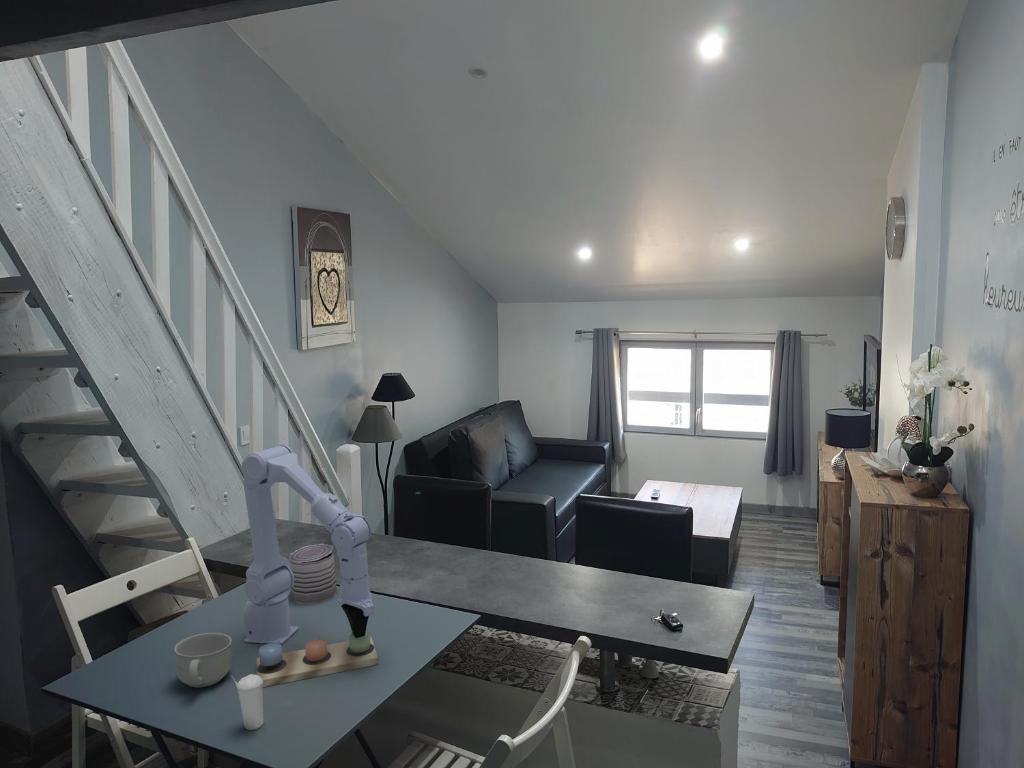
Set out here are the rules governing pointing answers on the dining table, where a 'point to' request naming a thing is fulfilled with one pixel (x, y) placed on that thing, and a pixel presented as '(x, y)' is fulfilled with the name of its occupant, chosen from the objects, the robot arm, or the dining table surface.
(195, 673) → the teacup
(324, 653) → the terracotta button
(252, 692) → the milkshake
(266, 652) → the slate button
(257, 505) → the robot arm
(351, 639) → the sage button
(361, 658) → the button panel
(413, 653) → the dining table surface
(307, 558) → the can
